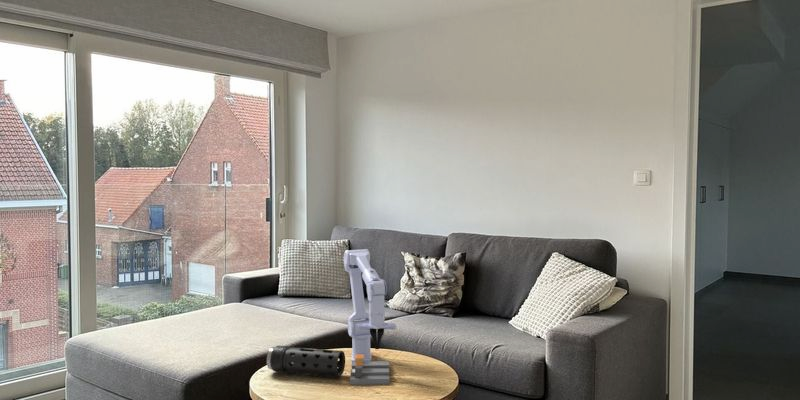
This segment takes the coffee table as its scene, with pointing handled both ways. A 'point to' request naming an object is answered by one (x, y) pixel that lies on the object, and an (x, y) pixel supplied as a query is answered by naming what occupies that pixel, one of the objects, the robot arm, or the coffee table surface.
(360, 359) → the handle
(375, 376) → the box
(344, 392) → the coffee table surface
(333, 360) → the muzzle brake
